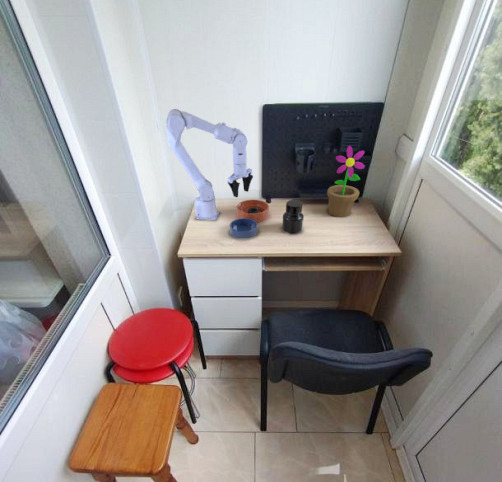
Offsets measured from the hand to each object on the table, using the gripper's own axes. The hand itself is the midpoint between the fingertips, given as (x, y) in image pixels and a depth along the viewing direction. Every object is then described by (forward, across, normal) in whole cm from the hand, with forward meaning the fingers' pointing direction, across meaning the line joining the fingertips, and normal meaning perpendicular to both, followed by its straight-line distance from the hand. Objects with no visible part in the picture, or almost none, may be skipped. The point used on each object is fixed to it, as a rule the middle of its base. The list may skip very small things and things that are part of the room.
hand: (241, 193), depth 132 cm
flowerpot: (+9, +29, -38) cm, 48 cm away
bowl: (+9, 0, -7) cm, 12 cm away
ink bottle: (+10, +1, -28) cm, 30 cm away
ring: (+9, 0, -7) cm, 11 cm away
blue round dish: (+9, -14, -13) cm, 21 cm away
